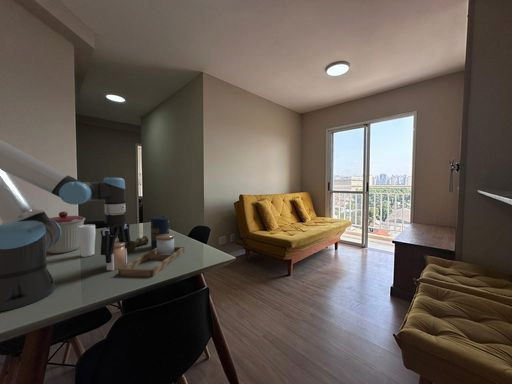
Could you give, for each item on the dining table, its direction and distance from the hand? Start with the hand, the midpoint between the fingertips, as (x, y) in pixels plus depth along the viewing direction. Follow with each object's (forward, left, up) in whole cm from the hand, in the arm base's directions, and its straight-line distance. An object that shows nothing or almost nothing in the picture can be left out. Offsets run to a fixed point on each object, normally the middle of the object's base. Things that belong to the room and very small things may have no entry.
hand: (117, 266), depth 88 cm
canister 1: (+18, +44, 0) cm, 48 cm away
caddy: (+7, -14, 0) cm, 16 cm away
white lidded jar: (+15, -14, 0) cm, 20 cm away
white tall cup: (+12, +25, 0) cm, 28 cm away
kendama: (+24, +11, -1) cm, 26 cm away
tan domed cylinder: (0, 0, 0) cm, 0 cm away
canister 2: (+28, -4, 0) cm, 28 cm away
